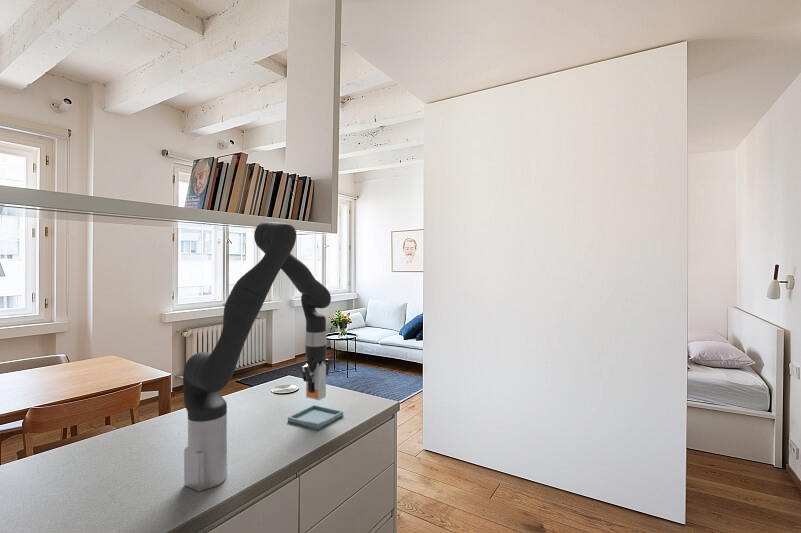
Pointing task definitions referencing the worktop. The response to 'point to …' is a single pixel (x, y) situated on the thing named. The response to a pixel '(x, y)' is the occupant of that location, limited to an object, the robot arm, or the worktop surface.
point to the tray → (315, 417)
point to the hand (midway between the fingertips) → (316, 390)
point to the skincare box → (318, 384)
